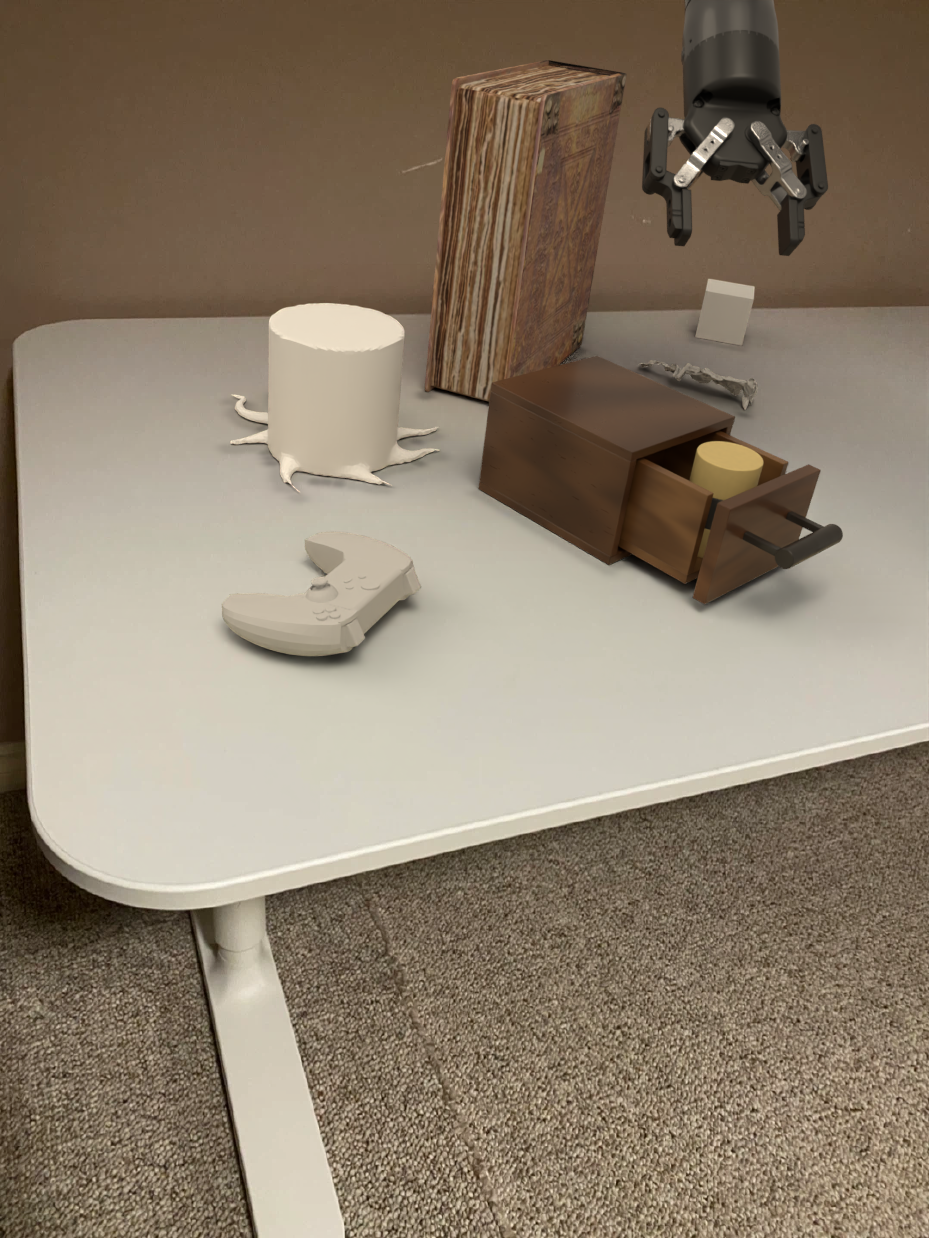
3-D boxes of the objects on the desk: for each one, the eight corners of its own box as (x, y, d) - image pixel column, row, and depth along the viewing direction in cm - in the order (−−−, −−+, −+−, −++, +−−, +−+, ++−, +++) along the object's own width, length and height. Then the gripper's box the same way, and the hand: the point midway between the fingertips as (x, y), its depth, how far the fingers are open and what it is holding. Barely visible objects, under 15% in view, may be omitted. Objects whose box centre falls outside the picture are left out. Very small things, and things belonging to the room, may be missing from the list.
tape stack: (751, 550, 89) (777, 461, 84) (711, 566, 86) (735, 475, 81) (702, 522, 92) (725, 436, 87) (662, 537, 89) (683, 448, 84)
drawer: (841, 584, 88) (873, 493, 83) (754, 633, 80) (784, 536, 76) (657, 489, 99) (677, 404, 94) (566, 525, 91) (582, 435, 86)
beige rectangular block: (697, 323, 144) (708, 278, 140) (743, 332, 143) (754, 286, 139) (695, 337, 139) (705, 290, 135) (742, 346, 138) (753, 299, 134)
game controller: (319, 516, 83) (434, 529, 79) (328, 567, 85) (440, 583, 81) (202, 599, 72) (329, 620, 68) (216, 656, 74) (339, 680, 70)
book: (503, 413, 112) (544, 95, 95) (422, 391, 114) (449, 78, 98) (582, 345, 132) (628, 72, 115) (512, 328, 134) (547, 59, 118)
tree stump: (488, 445, 105) (503, 326, 98) (372, 523, 90) (381, 388, 83) (281, 375, 114) (282, 262, 107) (144, 435, 99) (136, 308, 92)
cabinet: (708, 521, 96) (735, 416, 91) (608, 565, 88) (632, 452, 82) (579, 455, 105) (596, 355, 100) (478, 488, 97) (491, 382, 91)
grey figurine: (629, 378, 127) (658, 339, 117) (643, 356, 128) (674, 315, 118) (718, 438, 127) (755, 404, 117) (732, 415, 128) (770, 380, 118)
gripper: (658, 16, 82) (662, 211, 79) (836, 37, 84) (847, 228, 81) (630, 82, 89) (633, 263, 86) (794, 100, 91) (803, 277, 88)
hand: (736, 246), depth 84 cm, fingers open, 8 cm apart
